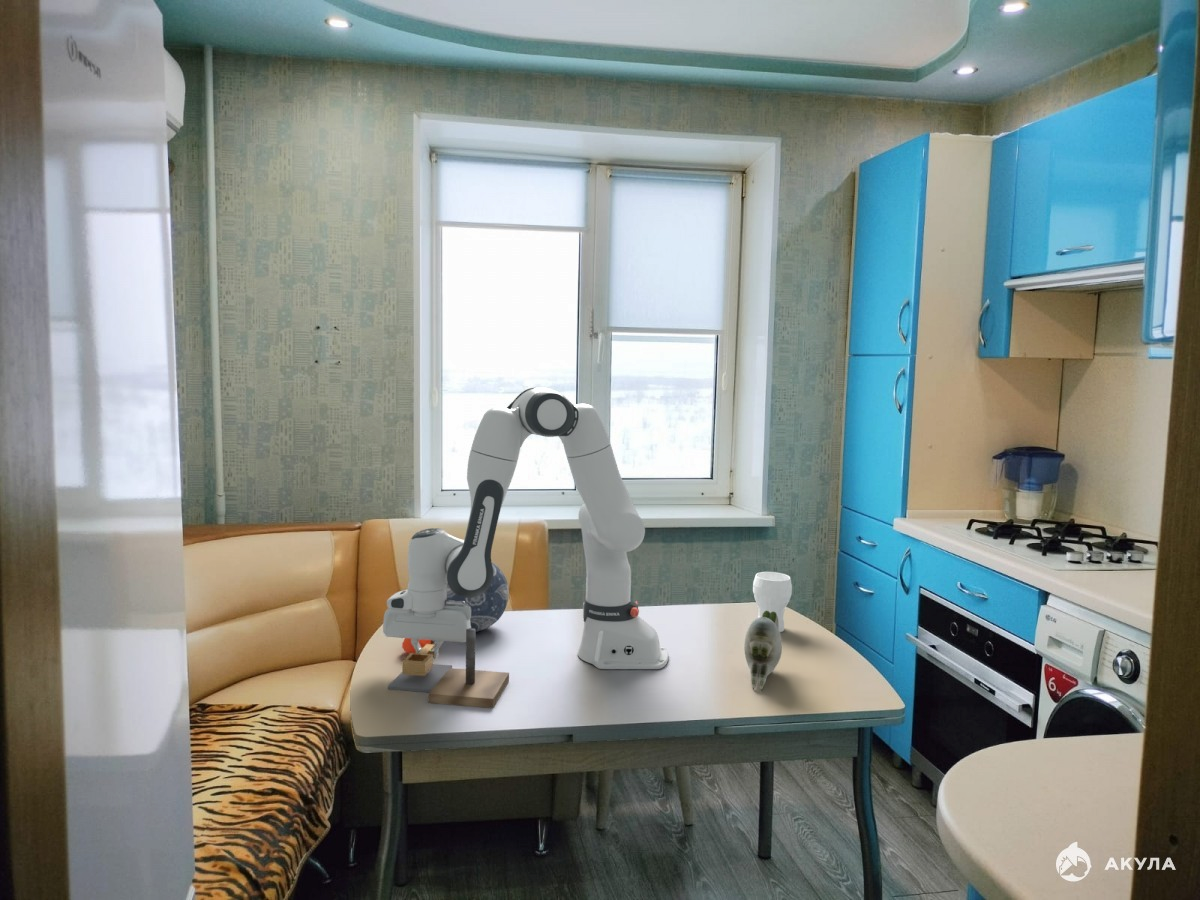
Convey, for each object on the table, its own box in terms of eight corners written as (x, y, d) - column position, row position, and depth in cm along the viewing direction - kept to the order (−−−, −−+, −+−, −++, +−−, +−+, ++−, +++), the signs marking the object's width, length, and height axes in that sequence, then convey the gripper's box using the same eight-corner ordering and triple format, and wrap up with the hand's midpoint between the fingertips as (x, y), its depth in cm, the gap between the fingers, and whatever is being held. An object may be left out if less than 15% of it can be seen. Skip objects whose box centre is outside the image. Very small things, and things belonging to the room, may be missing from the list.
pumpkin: (421, 646, 195) (421, 621, 194) (438, 655, 189) (439, 629, 189) (396, 652, 190) (396, 627, 189) (413, 662, 184) (413, 636, 184)
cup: (793, 635, 211) (796, 582, 209) (754, 634, 211) (757, 580, 209) (784, 622, 221) (787, 571, 219) (747, 621, 221) (750, 570, 220)
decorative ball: (516, 621, 216) (517, 551, 214) (496, 646, 196) (497, 569, 194) (448, 615, 219) (448, 546, 217) (421, 640, 199) (422, 564, 197)
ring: (441, 657, 181) (441, 645, 181) (425, 676, 170) (425, 663, 170) (420, 655, 182) (420, 643, 181) (402, 674, 171) (402, 661, 170)
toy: (776, 695, 172) (785, 660, 191) (779, 629, 170) (788, 601, 189) (738, 689, 175) (750, 655, 194) (740, 624, 173) (753, 597, 192)
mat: (451, 667, 182) (451, 665, 181) (431, 692, 168) (431, 689, 168) (411, 664, 183) (411, 662, 183) (387, 688, 169) (387, 686, 169)
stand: (508, 681, 175) (509, 621, 173) (493, 708, 161) (494, 643, 160) (449, 676, 176) (449, 617, 175) (428, 702, 163) (428, 638, 161)
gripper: (475, 597, 179) (474, 655, 181) (390, 592, 182) (390, 648, 183) (467, 606, 173) (466, 665, 174) (380, 600, 175) (380, 658, 177)
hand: (427, 656), depth 179 cm, fingers closed on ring, 2 cm apart
